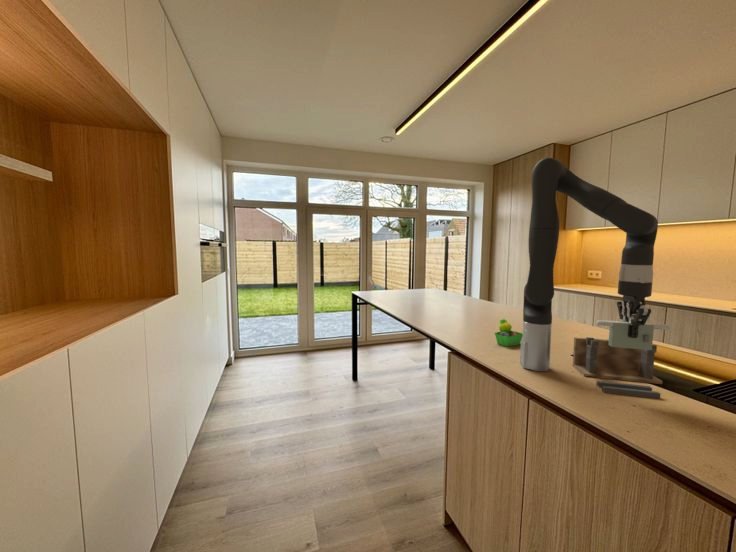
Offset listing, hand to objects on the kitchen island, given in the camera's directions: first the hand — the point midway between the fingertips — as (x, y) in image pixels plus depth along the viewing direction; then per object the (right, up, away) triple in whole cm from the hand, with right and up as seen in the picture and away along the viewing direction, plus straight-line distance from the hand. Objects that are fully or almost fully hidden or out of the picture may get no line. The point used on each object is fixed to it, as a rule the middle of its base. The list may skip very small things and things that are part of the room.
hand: (630, 336), depth 89 cm
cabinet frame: (+7, -16, +14) cm, 23 cm away
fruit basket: (-14, -14, +49) cm, 53 cm away
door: (0, -3, 0) cm, 3 cm away
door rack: (0, -17, +1) cm, 17 cm away
